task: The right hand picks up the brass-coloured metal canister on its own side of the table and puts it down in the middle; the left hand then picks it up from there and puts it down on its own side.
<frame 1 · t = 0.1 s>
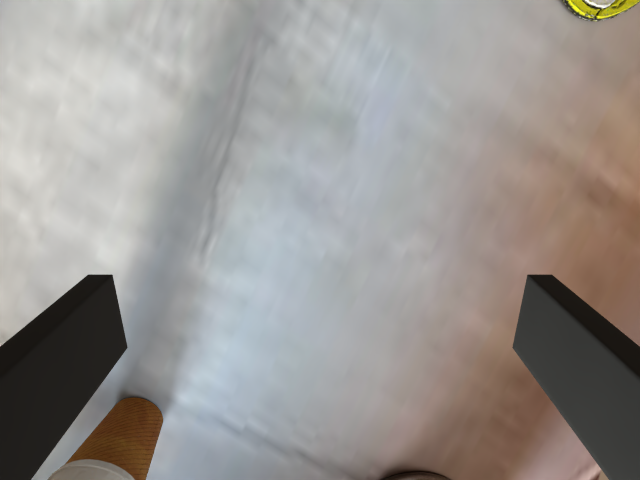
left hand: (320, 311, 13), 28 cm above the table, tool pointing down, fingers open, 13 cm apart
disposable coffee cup: (138, 415, 51), on the table
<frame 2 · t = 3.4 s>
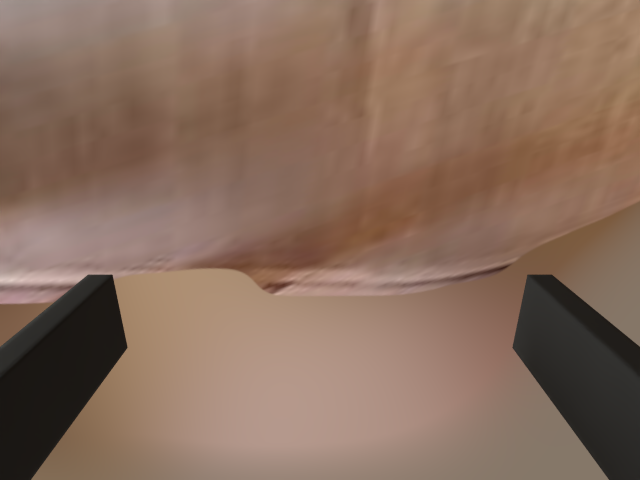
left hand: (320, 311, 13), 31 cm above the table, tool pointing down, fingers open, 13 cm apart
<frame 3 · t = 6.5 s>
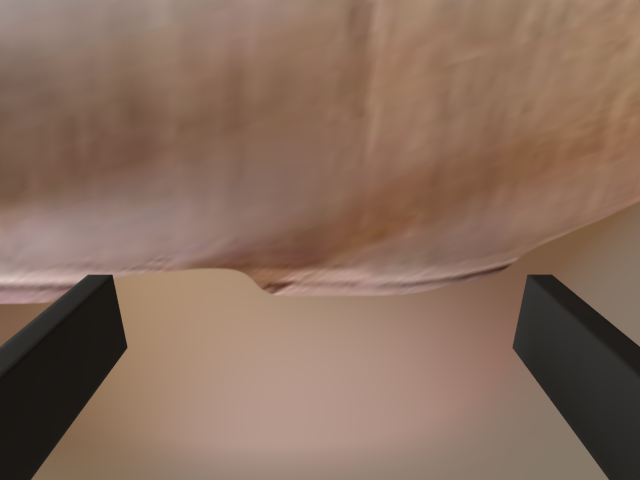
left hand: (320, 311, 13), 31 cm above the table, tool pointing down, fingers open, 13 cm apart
when the right hand's fingers open (1 cm above the table, at t = 9.5 s): canister stays where it is, on the table.
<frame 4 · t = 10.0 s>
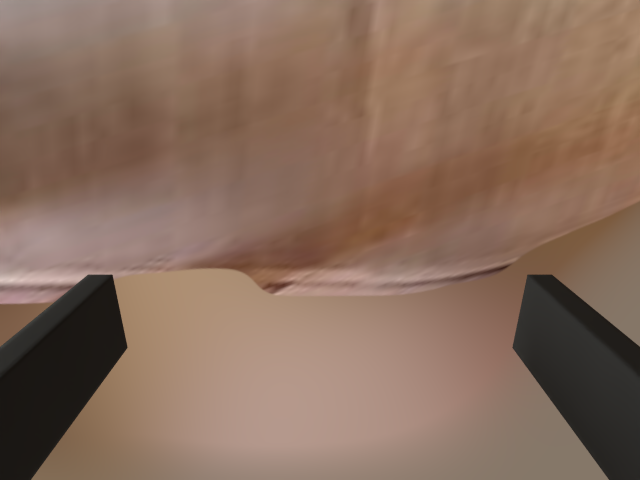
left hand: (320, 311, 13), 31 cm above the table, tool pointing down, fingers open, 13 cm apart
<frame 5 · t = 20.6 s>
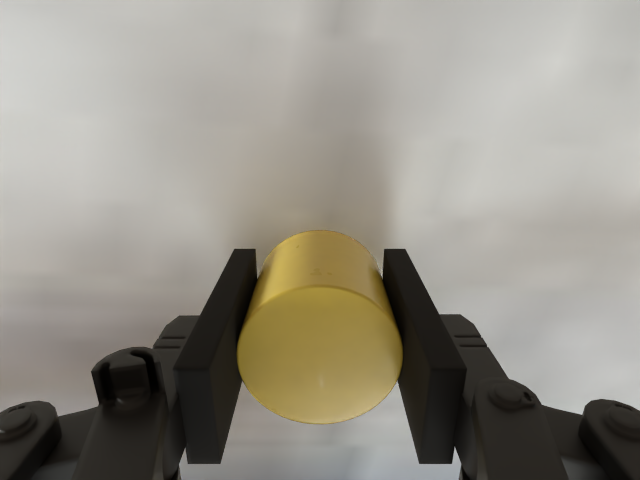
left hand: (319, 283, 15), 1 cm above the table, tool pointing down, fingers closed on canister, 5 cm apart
canister: (319, 287, 15), point 1 cm above the table, touching left hand
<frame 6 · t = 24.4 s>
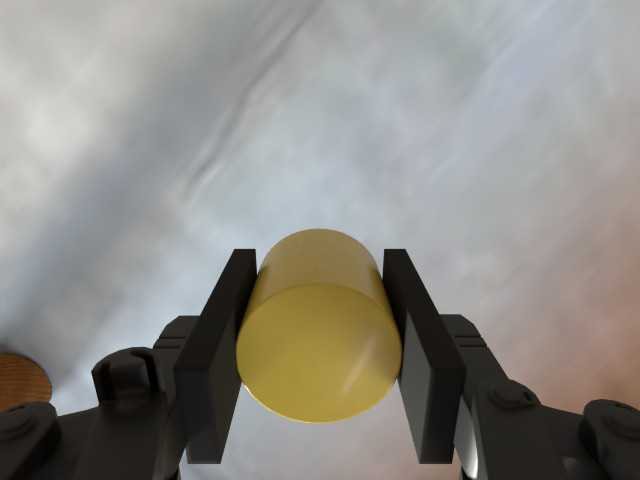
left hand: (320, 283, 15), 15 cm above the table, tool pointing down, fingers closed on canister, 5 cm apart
canister: (318, 286, 15), point 14 cm above the table, touching left hand
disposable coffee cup: (16, 382, 35), on the table
when the left hand's fingers open (0 cm above the table, at t = 28.2 s): canister stays where it is, on the table.
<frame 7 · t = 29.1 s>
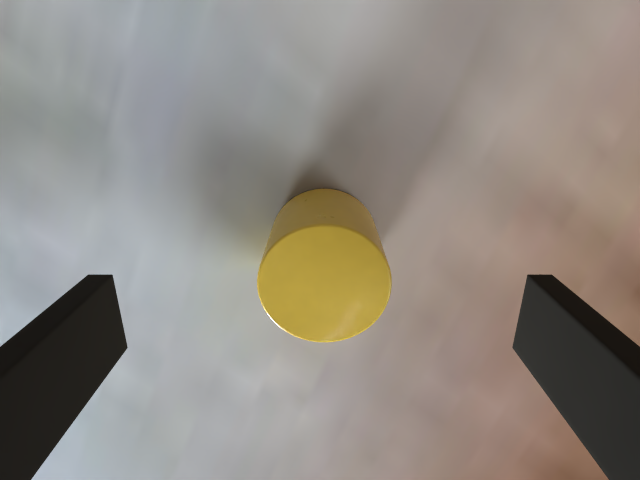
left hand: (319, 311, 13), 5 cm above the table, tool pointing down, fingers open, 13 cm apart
canister: (324, 238, 18), on the table
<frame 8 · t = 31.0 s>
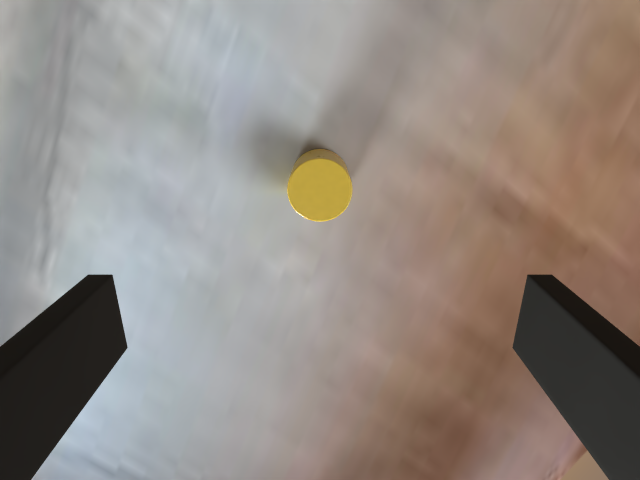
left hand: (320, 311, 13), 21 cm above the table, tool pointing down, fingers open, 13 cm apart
canister: (319, 177, 33), on the table
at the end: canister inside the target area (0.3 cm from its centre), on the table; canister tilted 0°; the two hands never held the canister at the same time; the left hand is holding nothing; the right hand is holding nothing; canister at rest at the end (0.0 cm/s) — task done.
